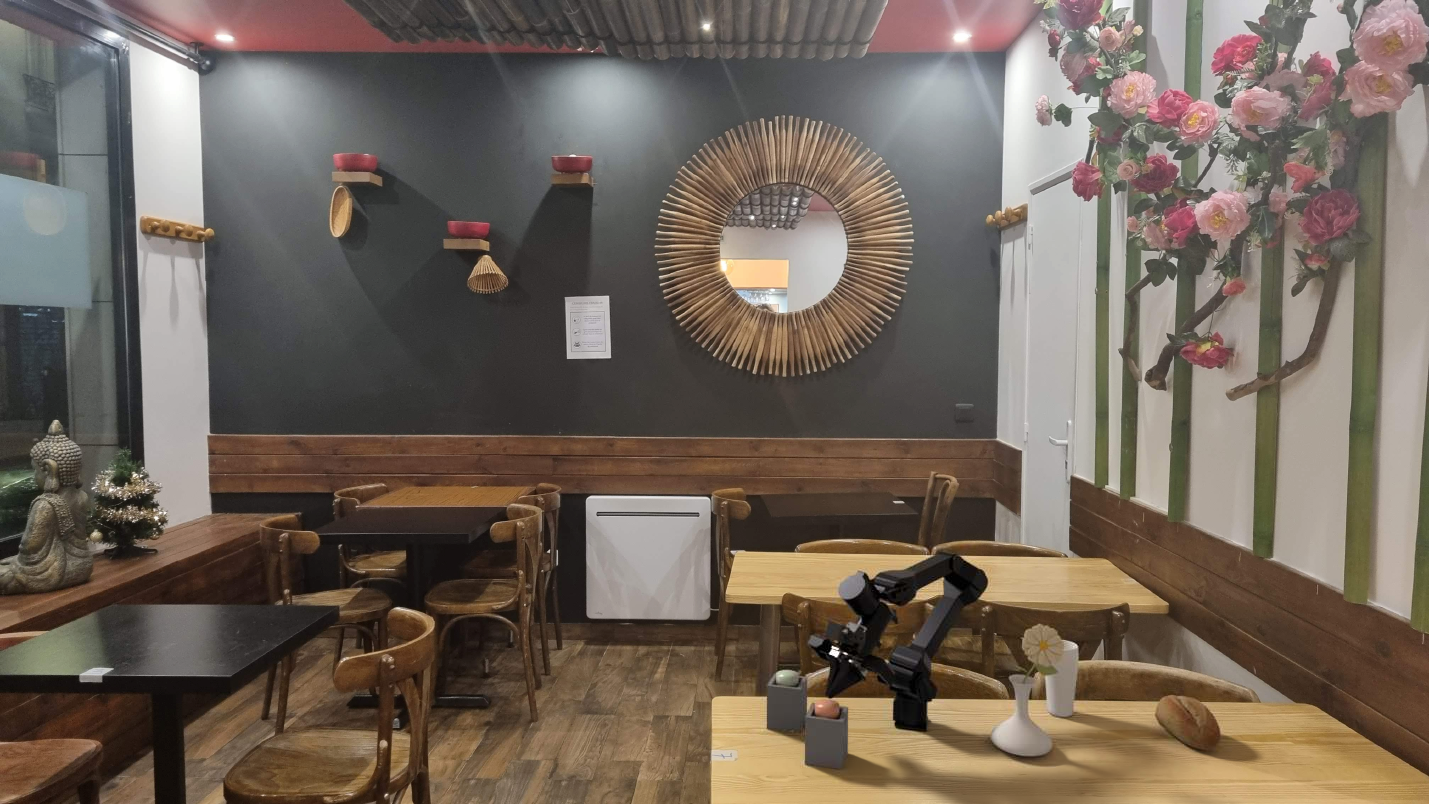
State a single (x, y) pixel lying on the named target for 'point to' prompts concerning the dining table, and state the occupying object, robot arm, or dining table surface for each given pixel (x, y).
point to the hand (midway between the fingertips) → (827, 697)
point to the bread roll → (1188, 721)
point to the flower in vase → (1020, 729)
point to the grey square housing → (826, 739)
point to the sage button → (787, 678)
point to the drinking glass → (1063, 682)
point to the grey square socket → (786, 705)
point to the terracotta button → (827, 709)
